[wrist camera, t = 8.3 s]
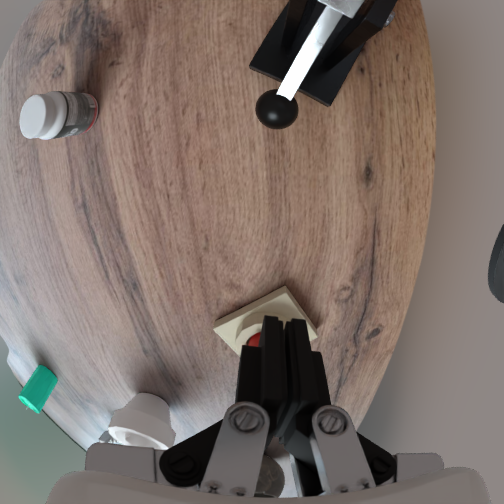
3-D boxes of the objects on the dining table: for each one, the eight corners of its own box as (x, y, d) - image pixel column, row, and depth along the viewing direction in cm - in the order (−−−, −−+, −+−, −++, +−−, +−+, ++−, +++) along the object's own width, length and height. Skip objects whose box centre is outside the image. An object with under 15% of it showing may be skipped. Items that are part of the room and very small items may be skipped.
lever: (289, 125, 19) (283, 143, 18) (255, 108, 19) (244, 124, 17) (374, -8, 9) (382, -10, 7) (331, -30, 9) (331, -37, 7)
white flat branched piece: (121, 430, 51) (112, 454, 44) (115, 428, 51) (106, 451, 44) (114, 417, 48) (104, 443, 41) (108, 415, 48) (97, 441, 41)
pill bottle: (66, 135, 23) (15, 145, 16) (70, 95, 21) (19, 95, 14) (97, 133, 23) (46, 141, 16) (102, 91, 21) (51, 86, 14)
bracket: (327, 107, 22) (384, 90, 10) (249, 68, 21) (235, 15, 9) (371, 26, 17) (436, -23, 6) (299, -11, 16) (320, -85, 5)
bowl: (266, 437, 46) (265, 489, 35) (294, 460, 53) (295, 501, 42) (196, 444, 50) (187, 489, 39) (232, 467, 57) (229, 505, 46)
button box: (285, 284, 30) (287, 303, 27) (316, 329, 33) (320, 348, 29) (214, 321, 33) (209, 340, 30) (250, 358, 35) (249, 378, 32)
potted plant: (157, 379, 39) (115, 514, 16) (194, 415, 43) (171, 531, 21) (109, 384, 42) (64, 491, 19) (145, 417, 46) (115, 515, 23)
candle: (36, 367, 44) (14, 402, 33) (41, 362, 42) (17, 399, 31) (54, 384, 46) (34, 419, 35) (60, 379, 44) (39, 417, 33)
